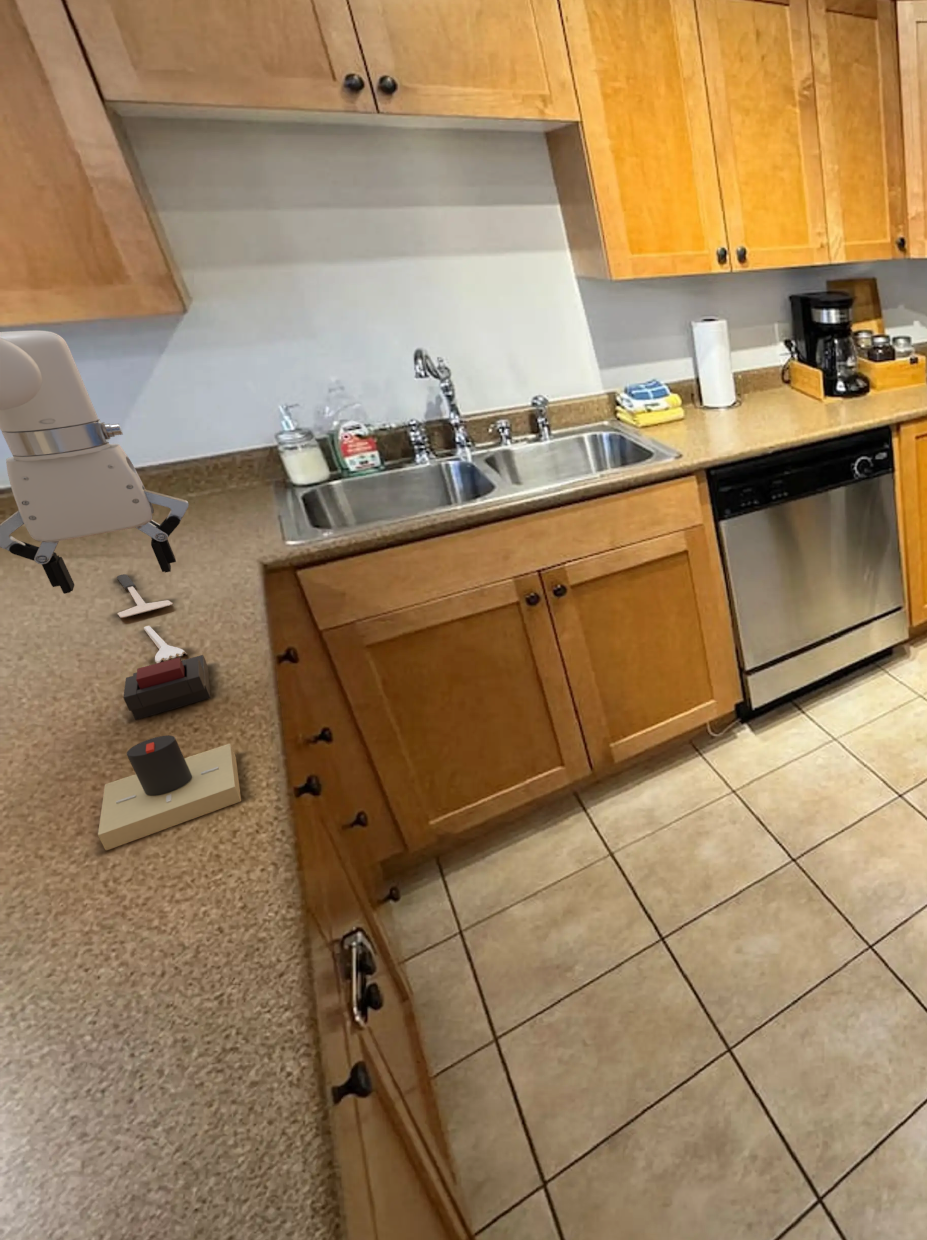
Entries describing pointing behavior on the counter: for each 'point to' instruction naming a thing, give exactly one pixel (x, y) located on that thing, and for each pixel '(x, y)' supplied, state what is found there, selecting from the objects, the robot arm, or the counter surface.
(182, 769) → the timer knob
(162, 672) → the red rectangular block
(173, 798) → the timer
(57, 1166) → the counter surface
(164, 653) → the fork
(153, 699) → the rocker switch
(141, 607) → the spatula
